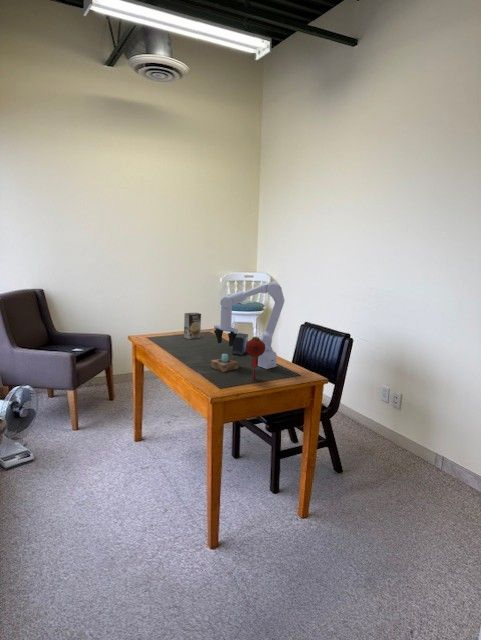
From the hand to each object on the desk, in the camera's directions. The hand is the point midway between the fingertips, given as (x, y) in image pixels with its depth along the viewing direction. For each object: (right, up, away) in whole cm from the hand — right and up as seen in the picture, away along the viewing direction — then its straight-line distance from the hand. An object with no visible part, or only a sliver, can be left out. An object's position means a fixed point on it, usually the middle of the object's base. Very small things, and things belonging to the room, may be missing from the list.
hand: (225, 344), depth 224 cm
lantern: (+15, -15, -22) cm, 30 cm away
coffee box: (-24, +1, +54) cm, 59 cm away
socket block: (0, -12, -7) cm, 14 cm away
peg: (0, -12, -7) cm, 14 cm away
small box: (+8, -6, +22) cm, 25 cm away
